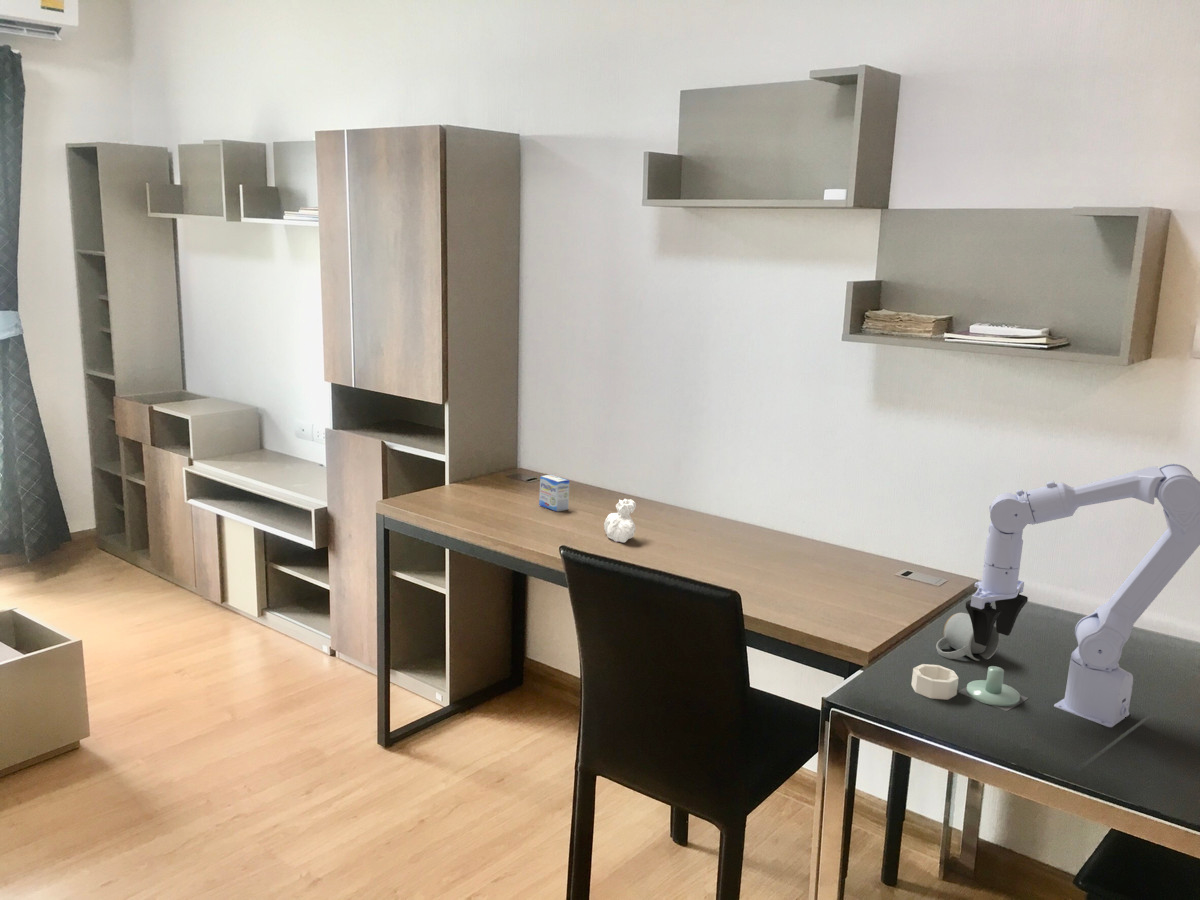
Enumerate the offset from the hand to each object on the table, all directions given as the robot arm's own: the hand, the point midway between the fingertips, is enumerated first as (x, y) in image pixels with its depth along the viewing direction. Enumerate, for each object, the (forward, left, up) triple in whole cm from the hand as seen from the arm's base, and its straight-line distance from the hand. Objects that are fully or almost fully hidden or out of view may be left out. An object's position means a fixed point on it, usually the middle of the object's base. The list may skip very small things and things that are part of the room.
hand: (992, 638), depth 173 cm
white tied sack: (+103, -8, -10) cm, 103 cm away
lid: (-2, +1, -10) cm, 10 cm away
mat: (-2, +1, -10) cm, 10 cm away
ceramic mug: (+11, -12, -10) cm, 19 cm away
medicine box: (+135, -12, -10) cm, 136 cm away
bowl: (+6, +8, -10) cm, 14 cm away
